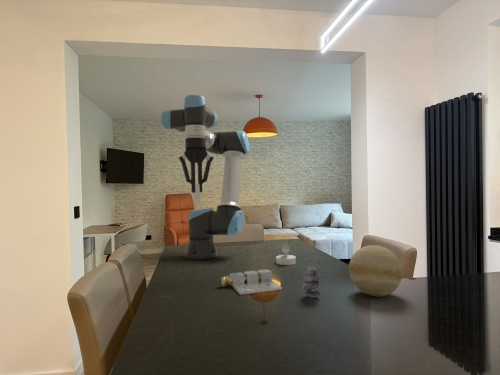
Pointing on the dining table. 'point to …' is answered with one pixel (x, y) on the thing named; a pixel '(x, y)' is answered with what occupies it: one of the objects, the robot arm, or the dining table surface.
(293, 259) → the wall hook
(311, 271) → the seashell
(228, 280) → the pin
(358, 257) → the decorative ball
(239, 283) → the hinge leaves
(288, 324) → the dining table surface
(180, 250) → the dining table surface
